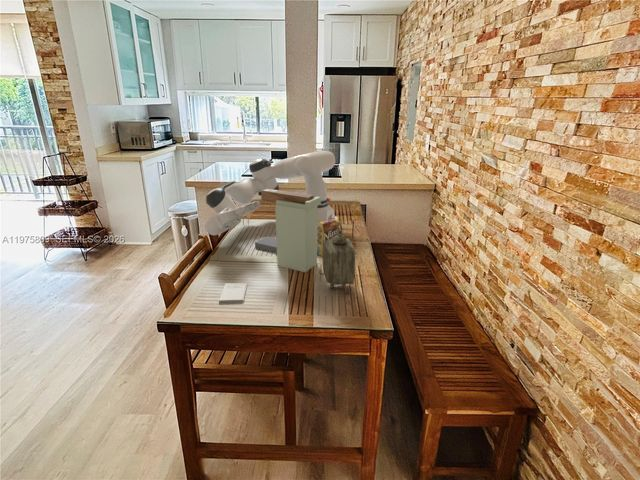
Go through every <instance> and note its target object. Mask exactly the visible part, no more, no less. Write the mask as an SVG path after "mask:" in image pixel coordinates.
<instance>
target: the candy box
mask: <svg viewBox="0 0 640 480" xmlns="http://www.w3.org/2000/svg"><path fill="white" fill-rule="evenodd" d="M338 222H340V221H339V219H338V220H337V219H334V218H333V219H328V220H323V221H318V228H317V255H319V256H320V257H323V242H324V241H326V240H328V239H333V238H334V236H335V235H338V229H337V225H338Z"/></svg>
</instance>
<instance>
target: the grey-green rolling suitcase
mask: <svg viewBox="0 0 640 480" xmlns="http://www.w3.org/2000/svg"><path fill="white" fill-rule="evenodd" d="M339 228H340V229H339ZM337 229H338V235H335V236H334V238H333V239H328V240H326V241H324V242H323V256H322V270H323V271H322V272H323V274H324V279H325V280H326V282H327V283H328V284H329V288H330V289H333V288H335V286H337V285H342V286H343V288H344V289H345V294H346V295H349V294H350V292H351V291H350V290H349V289H348V288H347V285H353V284H354V283H355V271H356V252H355V247H354V244H353V243H352V241H351V240H350V238H348V237H346V236H344V235H343V226H342V223H341V222H340V221H339V222H338V225H337Z"/></svg>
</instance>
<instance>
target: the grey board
mask: <svg viewBox="0 0 640 480" xmlns="http://www.w3.org/2000/svg"><path fill="white" fill-rule="evenodd" d="M254 248H256V249H260V250H264V251H269V252H273V253H277V239H276V237H270V236H265V237H263V238H261V239H259V240H257V241H256V242H254Z"/></svg>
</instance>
